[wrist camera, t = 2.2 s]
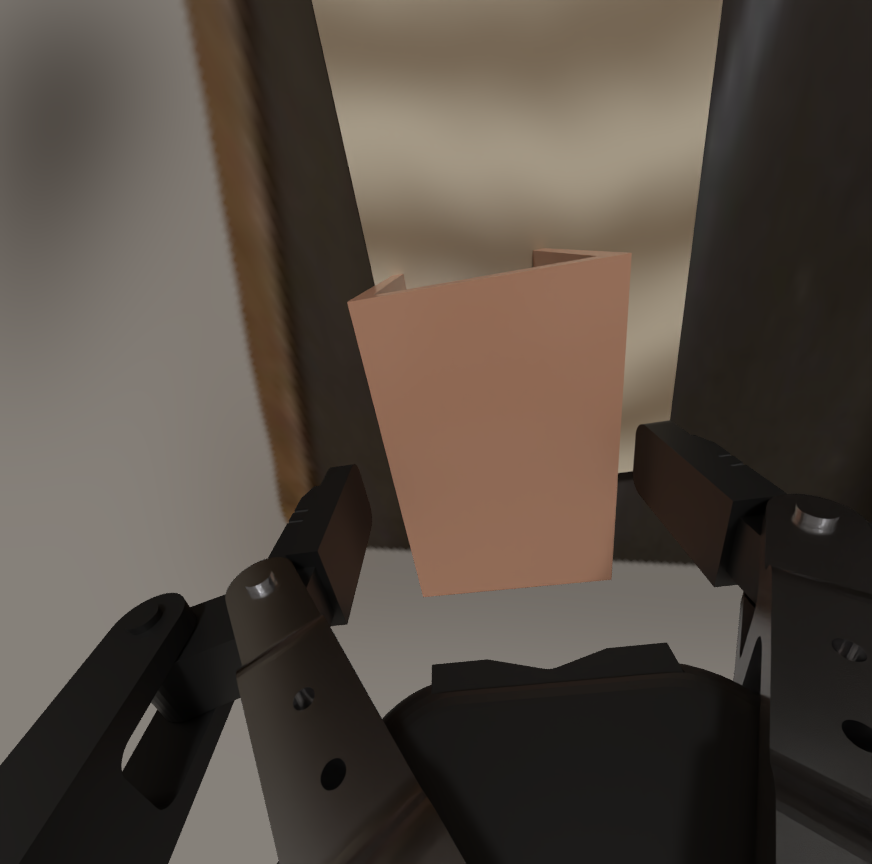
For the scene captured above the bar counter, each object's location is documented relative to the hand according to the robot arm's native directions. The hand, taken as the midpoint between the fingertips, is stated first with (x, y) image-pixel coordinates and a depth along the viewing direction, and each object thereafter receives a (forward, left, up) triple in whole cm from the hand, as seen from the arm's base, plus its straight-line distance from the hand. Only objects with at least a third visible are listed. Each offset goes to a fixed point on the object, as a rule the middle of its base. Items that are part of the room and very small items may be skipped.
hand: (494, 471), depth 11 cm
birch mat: (-5, -5, -9) cm, 11 cm away
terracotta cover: (0, 0, -8) cm, 8 cm away
